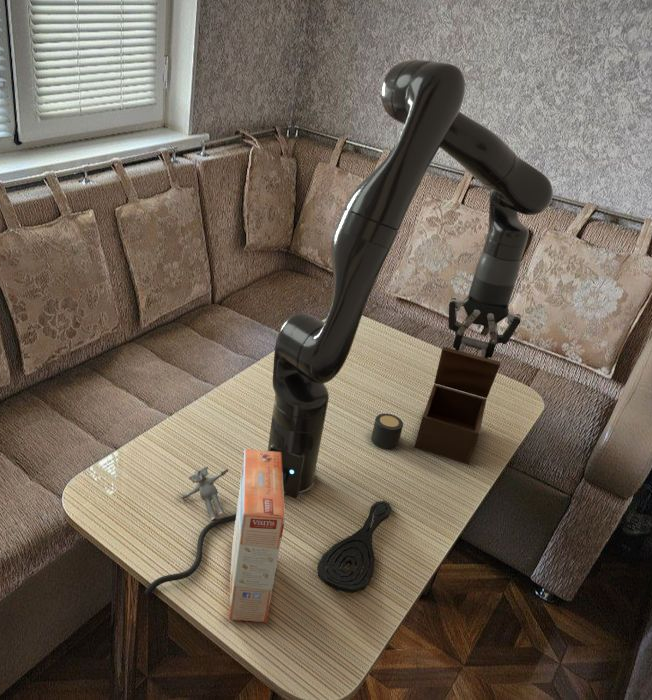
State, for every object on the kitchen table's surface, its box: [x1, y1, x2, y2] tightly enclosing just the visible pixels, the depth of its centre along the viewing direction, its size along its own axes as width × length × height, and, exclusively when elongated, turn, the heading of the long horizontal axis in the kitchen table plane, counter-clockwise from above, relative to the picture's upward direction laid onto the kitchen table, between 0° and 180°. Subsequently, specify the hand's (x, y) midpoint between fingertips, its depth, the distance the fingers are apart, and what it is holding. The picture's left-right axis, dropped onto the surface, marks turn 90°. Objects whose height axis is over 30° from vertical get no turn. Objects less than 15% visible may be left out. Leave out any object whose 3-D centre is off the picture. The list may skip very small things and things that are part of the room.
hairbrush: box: [316, 500, 392, 594], centre depth 111 cm, size 8×4×25 cm
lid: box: [433, 335, 502, 399], centre depth 137 cm, size 15×11×5 cm
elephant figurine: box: [180, 466, 229, 522], centre depth 116 cm, size 10×6×9 cm
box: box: [413, 383, 488, 466], centre depth 139 cm, size 14×11×8 cm
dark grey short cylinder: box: [370, 413, 404, 450], centre depth 137 cm, size 6×6×5 cm
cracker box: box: [228, 448, 286, 623], centre depth 98 cm, size 14×6×21 cm, turn 179°
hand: (471, 353), depth 135 cm, fingers closed on lid, 5 cm apart
